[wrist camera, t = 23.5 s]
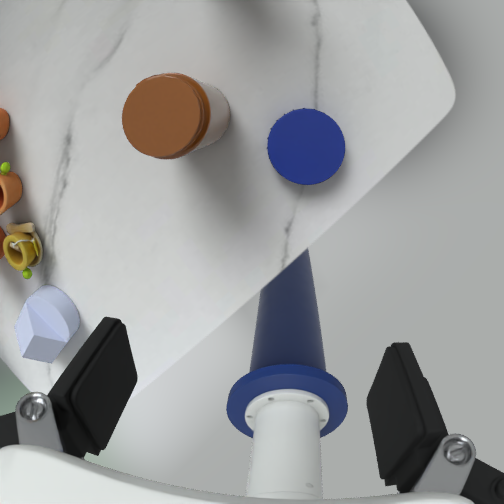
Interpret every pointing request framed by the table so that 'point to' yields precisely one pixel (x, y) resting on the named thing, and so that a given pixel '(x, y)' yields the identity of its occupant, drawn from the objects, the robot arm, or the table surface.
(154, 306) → the table surface
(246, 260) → the table surface
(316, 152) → the lid
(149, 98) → the jar
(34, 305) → the wedge on round base
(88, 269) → the table surface
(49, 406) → the robot arm
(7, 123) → the toy tea set
